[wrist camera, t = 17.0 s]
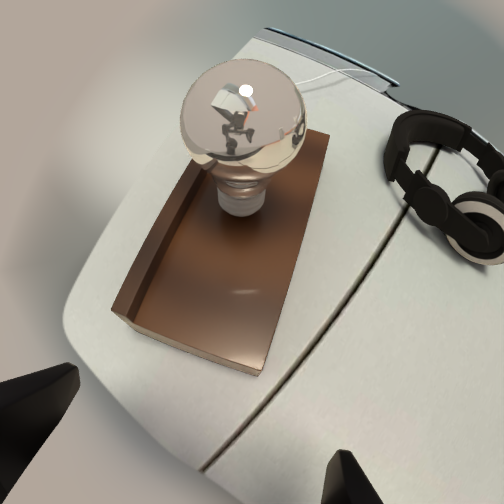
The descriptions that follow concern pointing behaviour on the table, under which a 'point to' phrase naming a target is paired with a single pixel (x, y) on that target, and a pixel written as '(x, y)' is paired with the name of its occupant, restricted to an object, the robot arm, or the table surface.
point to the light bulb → (243, 129)
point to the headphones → (436, 199)
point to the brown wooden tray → (222, 265)
